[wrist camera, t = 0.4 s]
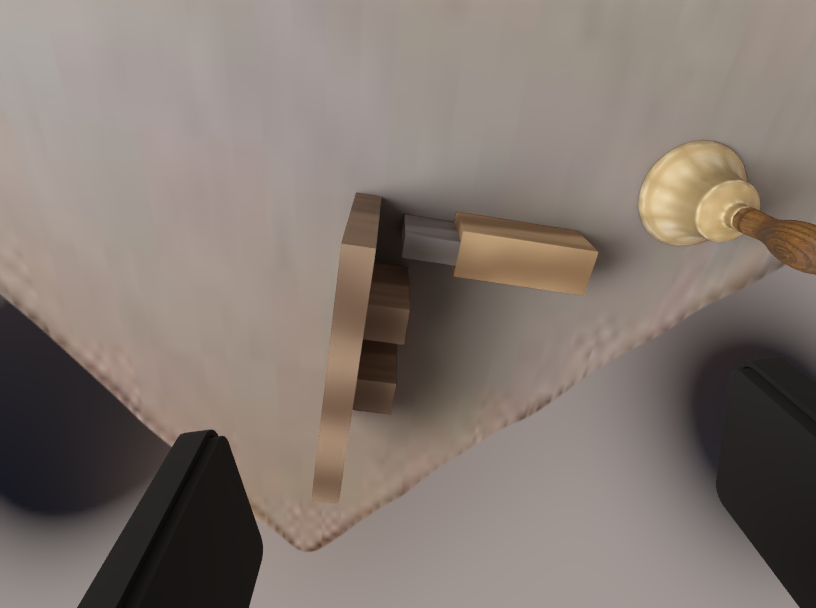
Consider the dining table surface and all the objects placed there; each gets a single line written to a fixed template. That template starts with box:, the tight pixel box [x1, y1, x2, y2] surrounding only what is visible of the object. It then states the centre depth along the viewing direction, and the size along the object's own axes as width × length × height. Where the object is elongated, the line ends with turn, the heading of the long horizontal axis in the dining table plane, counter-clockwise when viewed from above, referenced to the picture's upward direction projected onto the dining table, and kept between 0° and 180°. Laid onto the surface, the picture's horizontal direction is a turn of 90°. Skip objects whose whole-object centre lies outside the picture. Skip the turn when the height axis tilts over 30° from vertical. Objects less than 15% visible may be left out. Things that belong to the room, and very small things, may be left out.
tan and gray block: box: [401, 212, 598, 295], centre depth 41 cm, size 4×14×5 cm, turn 80°
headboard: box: [311, 193, 410, 504], centre depth 40 cm, size 20×5×12 cm, turn 171°
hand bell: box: [638, 140, 816, 275], centre depth 35 cm, size 8×8×16 cm
